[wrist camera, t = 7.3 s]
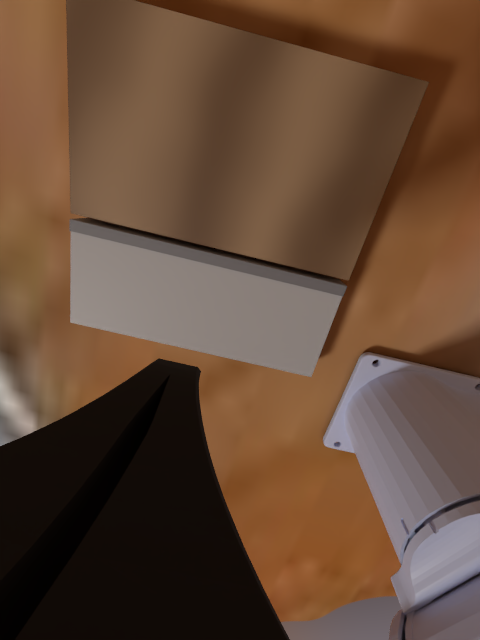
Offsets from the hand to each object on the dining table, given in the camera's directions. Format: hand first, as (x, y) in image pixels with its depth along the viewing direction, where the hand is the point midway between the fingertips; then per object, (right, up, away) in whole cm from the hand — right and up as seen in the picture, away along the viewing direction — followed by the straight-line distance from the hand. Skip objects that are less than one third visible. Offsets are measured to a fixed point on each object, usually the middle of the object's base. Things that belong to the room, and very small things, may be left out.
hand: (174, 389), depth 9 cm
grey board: (0, +4, +9) cm, 9 cm away
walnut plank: (+2, +10, +6) cm, 12 cm away
